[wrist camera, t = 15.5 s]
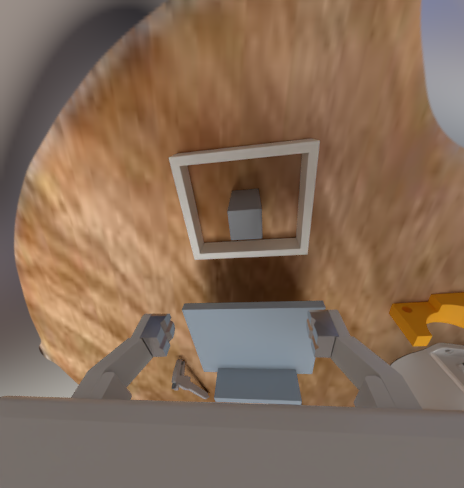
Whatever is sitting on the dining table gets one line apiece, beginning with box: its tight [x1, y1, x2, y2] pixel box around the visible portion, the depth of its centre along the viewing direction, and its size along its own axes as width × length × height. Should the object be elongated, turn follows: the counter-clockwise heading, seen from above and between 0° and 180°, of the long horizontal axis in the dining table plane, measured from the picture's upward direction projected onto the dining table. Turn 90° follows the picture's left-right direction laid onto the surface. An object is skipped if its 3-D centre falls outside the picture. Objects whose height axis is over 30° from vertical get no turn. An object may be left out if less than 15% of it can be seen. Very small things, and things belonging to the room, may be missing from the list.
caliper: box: [172, 359, 209, 399], centre depth 51 cm, size 20×1×6 cm, turn 17°
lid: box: [182, 301, 325, 405], centre depth 26 cm, size 17×15×5 cm
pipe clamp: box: [389, 292, 464, 346], centre depth 32 cm, size 12×4×6 cm, turn 100°
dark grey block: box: [227, 189, 262, 240], centre depth 24 cm, size 4×4×7 cm
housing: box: [169, 138, 320, 260], centre depth 26 cm, size 16×14×3 cm
